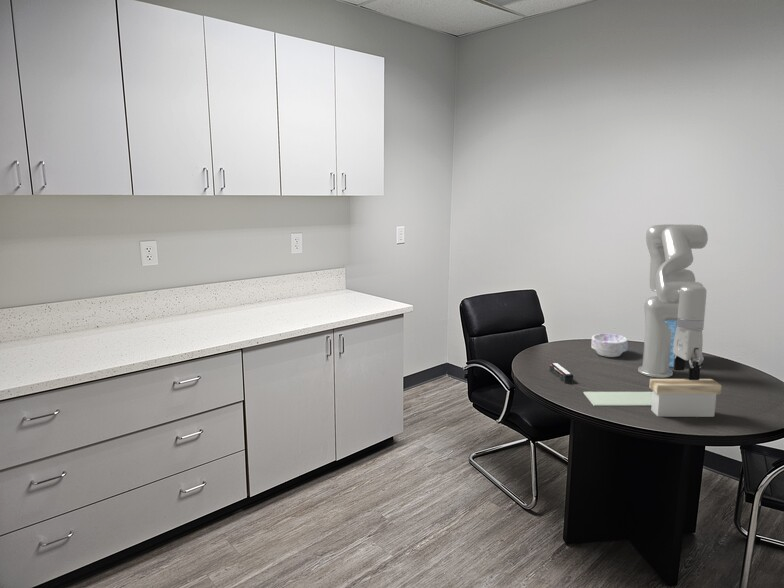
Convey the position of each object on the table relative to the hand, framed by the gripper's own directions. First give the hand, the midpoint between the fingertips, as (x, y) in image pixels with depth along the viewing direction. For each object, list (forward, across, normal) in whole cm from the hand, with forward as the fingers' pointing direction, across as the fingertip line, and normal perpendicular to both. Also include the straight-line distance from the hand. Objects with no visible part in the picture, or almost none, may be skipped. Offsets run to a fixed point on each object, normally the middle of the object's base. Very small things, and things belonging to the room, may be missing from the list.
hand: (686, 374), depth 173 cm
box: (+14, -1, 0) cm, 14 cm away
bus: (+14, -39, -30) cm, 51 cm away
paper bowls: (+13, -66, -2) cm, 67 cm away
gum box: (+13, -56, +23) cm, 62 cm away
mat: (+14, -13, -14) cm, 23 cm away
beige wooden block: (+6, -1, 0) cm, 6 cm away
